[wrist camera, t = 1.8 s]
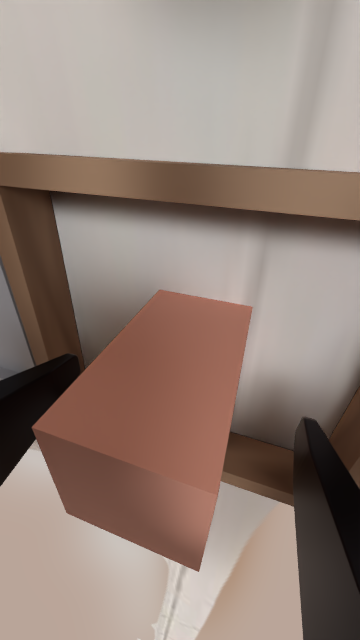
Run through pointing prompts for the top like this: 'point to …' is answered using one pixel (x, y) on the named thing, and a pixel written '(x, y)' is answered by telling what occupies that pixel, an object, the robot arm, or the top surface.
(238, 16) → the top surface
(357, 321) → the top surface
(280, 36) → the top surface
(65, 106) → the top surface
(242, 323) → the brick block
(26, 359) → the charcoal tray
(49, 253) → the frame
